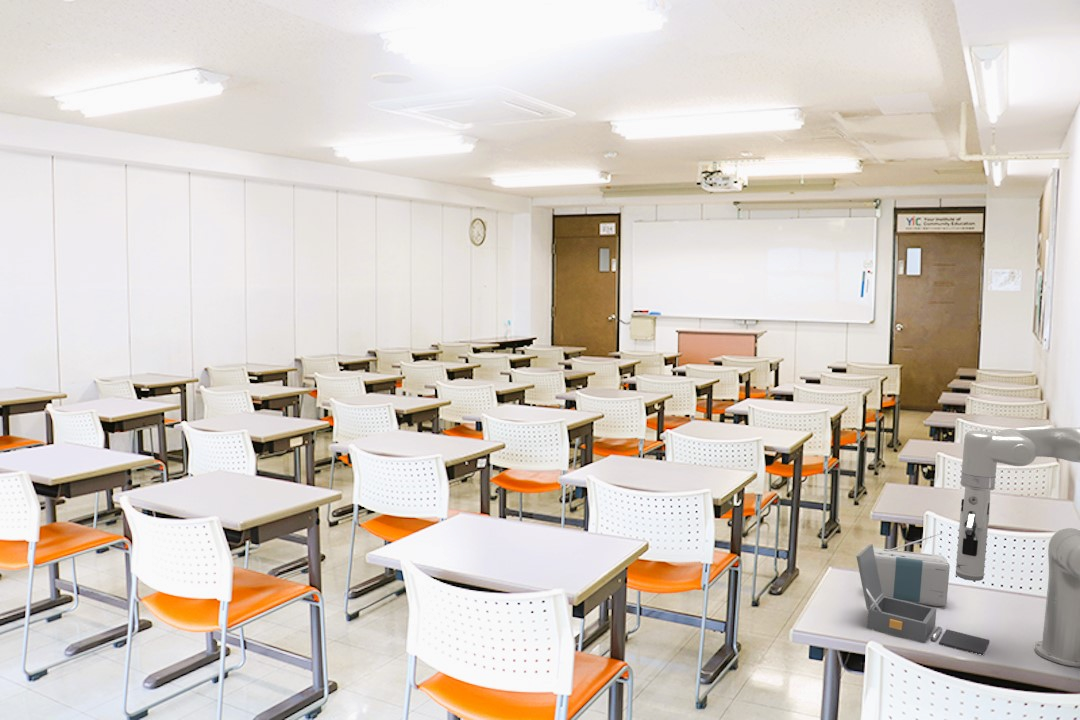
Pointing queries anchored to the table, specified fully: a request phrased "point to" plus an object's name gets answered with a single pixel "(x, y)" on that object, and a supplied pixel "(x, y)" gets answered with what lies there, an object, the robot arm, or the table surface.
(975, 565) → the travel mug
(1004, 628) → the table surface
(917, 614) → the case
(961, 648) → the pad
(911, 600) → the stereo radio cassette player
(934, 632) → the rod
